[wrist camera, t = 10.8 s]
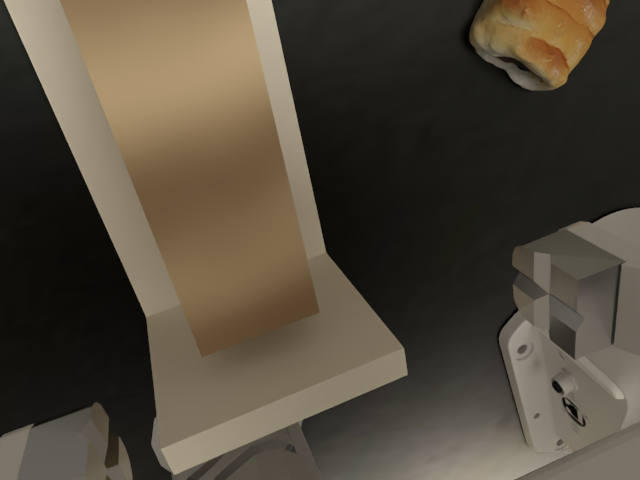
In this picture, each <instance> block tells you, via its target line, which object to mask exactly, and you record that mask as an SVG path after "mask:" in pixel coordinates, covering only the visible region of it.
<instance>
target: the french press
mask: <svg viewBox="0 0 640 480" xmlns="http://www.w3.org/2000/svg"><path fill="white" fill-rule="evenodd" d="M302 422H303V420H301V421H299V422H296V423H294V424H292V425H290V426H287V427H285V428H283V429H280V430H278V431H276V432H273V433H271V434H269V435H266V436H264V437H262V438H259V439H257V440H255V441H252V442H250V443H248V444H245V445H243V446H241V447H238V448H236V449H234V450H231V451H229V452H227V453H224V454H222V455H220V456H217V457H215V458H213V459H210V460H208V461H206V462H203V463H201V464H199V465H196V466H194V467H192V468H189V469H187V470H185V471H182V472H180V473H178V474H175V475H174V474H173V472H172V470H171V468H170V467H169V465H168V463H167V461H166V459H165V457H164V455H163V453H162V451H161V448H160V439H159V430H158V421H157V416H156V418H155V419H154V426H153V434H152V442H151V445H152V448H153V450H154V452H155V454H156V456H157V458H158V461H159V463H160V465H161V466H162V467H164V468H165V469H167V470H168V471H169V472H171V475H172V480H323V479H322V476H321V474H320V472H319V469H318V467H317V465H316V462H315V460H314V458H313V455H312V453H311V451H310V448H309V446H308V444H307V441H306V439H305V437H304V434H303V432H302V430H301V426H302ZM293 446H294V448H295V451H296V453H293V452H290V451H291V449H292V447H293Z"/></svg>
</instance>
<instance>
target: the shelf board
mask: <svg viewBox="0 0 640 480" xmlns="http://www.w3.org/2000/svg"><path fill="white" fill-rule="evenodd" d="M60 2H61V5H62V7H63V10H64V12H65V15H66V17H67V20H68V22H69V25H70V27H71V30H72V32H73V35H74V37H75V40H76V42H77V45H78V47H79V50H80V52H81V55H82V57H83V60H84V62H85V65H86V67H87V70H88V72H89V75H90V77H91V80H92V82H93V85H94V87H95V90H96V92H97V95H98V97H99V100H100V103H101V105H102V108H103V110H104V113H105V115H106V118H107V120H108V123H109V125H110V128H111V130H112V133H113V135H114V138H115V140H116V143H117V145H118V148H119V150H120V153H121V155H122V158H123V160H124V163H125V165H126V168H127V170H128V173H129V175H130V178H131V180H132V183H133V185H134V188H135V190H136V193H137V196H138V198H139V201H140V203H141V206H142V208H143V211H144V213H145V216H146V218H147V221H148V223H149V226H150V228H151V231H152V233H153V236H154V238H155V241H156V243H157V246H158V248H159V251H160V253H161V256H162V258H163V261H164V263H165V266H166V268H167V271H168V273H169V276H170V278H171V281H172V283H173V286H174V288H175V291H176V294H177V296H178V299H179V301H180V304H181V306H182V309H183V311H184V314H185V316H186V319H187V321H188V324H189V326H190V329H191V331H192V334H193V336H194V339H195V341H196V344H197V346H198V349H199V351H200V354H201V356H202V358H203V357H205V356H208V355H210V354H213V353H216V352H218V351H221V350H223V349H226V348H229V347H231V346H234V345H236V344H239V343H242V342H244V341H247V340H250V339H252V338H255V337H257V336H260V335H263V334H265V333H268V332H270V331H273V330H276V329H278V328H281V327H284V326H286V325H289V324H291V323H294V322H297V321H299V320H302V319H304V318H307V317H310V316H312V315H315V314H317V313H320V311H319V307H318V302H317V298H316V294H315V290H314V285H313V281H312V277H311V273H310V269H309V264H308V260H307V256H306V252H305V247H304V243H303V239H302V235H301V230H300V226H299V222H298V218H297V213H296V209H295V205H294V201H293V196H292V192H291V188H290V184H289V179H288V175H287V171H286V167H285V163H284V158H283V154H282V150H281V146H280V141H279V137H278V133H277V129H276V124H275V120H274V116H273V112H272V107H271V103H270V99H269V95H268V90H267V86H266V82H265V78H264V74H263V69H262V65H261V61H260V57H259V52H258V48H257V44H256V40H255V35H254V31H253V27H252V23H251V18H250V14H249V10H248V6H247V1H246V0H60Z"/></svg>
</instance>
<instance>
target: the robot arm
mask: <svg viewBox="0 0 640 480" xmlns="http://www.w3.org/2000/svg"><path fill="white" fill-rule="evenodd" d="M512 266H513V267H514V268H515V269H516V270H517V271H518V272H519V274H518V276H517V278H516V279H515V281H514V283H513V294H514V300H515V302H516V305H517V307H518V310H519V311H518V312H517V313H516V314H515V315H514V316H513V317H512V318H511V319H510V320H509V321H508V322H507V323H506V325H505V326H504V327H503V329H502V330H501V332H500V335H499V344H500V347H501V351H502V355H503V358H504V362H505V366H506V369H507V373H508V377H509V380H510V384H511V388H512V392H513V395H514V399H515V403H516V406H517V410H518V414H519V417H520V421H521V425H522V428H523V432H524V436H525V439H526V442H527V444H528V446H529V447H531V448H532V449H533V450H534V451H535V452H538V453H549V452H555V451H560V450H564V449H567V448H571V449H572V450H573V451H574V452H573V453H571V454H569V455H567V456H564V457H562V458H560V459H558V460H556V461H554V462H552V463H549V464H547V465H545V466H543V467H541V468H539V469H537V470H534V471H532V472H530V473H528V474H526V475H524V476H522V477H520V478H517V479H515V480H640V208H630V209H625V210H621V211H618V212H615V213H612V214H610V215H607V216H605V217H603V218H601V219H600V220H598V221H596V222H594V223H593V224H592V223H590V222H582V221H580V222H577V223H575V224H572V225H570V226H567V227H565V228H562V229H560V230H558V231H557V232H554V233H552V234H549V235H546V236H544V237H541V238H538V239H536V240H533V241H530V242H528V243H525V244H522V245H520V246H517V247H515V249H514V252H513V254H512ZM108 429H109V417H108V415H107V414H106V412H105V411H104V409H103V407H102V406H101V404H99V403H97V402H94V403H91V404H88V405H85V406H82V407H79V408H76V409H74V410H71V411H68V412H65V413H62V414H59V415H56V416H53V417H51V418H48V419H45V420H42V421H39V422H36V423H35V424H31V425H28V426H25V427H23V428H20V429H17V430H14V431H12V432H9V433H6V434H4V435H3V436H2V437H1V438H0V480H132V471H131V466H130V461H129V457H128V454H127V452H126V449H125V446H124V444H123V442H122V441H121V439H120V437H119V436H118V435H115V434H113V433H110V432H108Z"/></svg>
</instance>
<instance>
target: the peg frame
mask: <svg viewBox="0 0 640 480" xmlns="http://www.w3.org/2000/svg"><path fill="white" fill-rule="evenodd" d="M246 1H247V6H248V10H249V14H250V18H251V23H252V27H253V31H254V35H255V40H256V44H257V48H258V52H259V57H260V61H261V65H262V69H263V74H264V78H265V82H266V86H267V90H268V95H269V99H270V103H271V107H272V112H273V116H274V120H275V124H276V129H277V133H278V137H279V141H280V146H281V150H282V154H283V158H284V163H285V167H286V171H287V175H288V179H289V184H290V188H291V192H292V196H293V201H294V205H295V209H296V213H297V218H298V222H299V226H300V230H301V235H302V239H303V243H304V247H305V252H306V256H307V260H308V264H309V269H310V273H311V277H312V281H313V285H314V290H315V294H316V298H317V302H318V307H319V311H320V313H317V314H315V315H312V316H310V317H307V318H304V319H302V320H299V321H297V322H294V323H291V324H289V325H286V326H284V327H281V328H278V329H276V330H273V331H270V332H268V333H265V334H263V335H260V336H257V337H255V338H252V339H250V340H247V341H244V342H242V343H239V344H236V345H234V346H231V347H229V348H226V349H223V350H221V351H218V352H216V353H213V354H210V355H208V356H205V357H203V358H202V356H201V354H200V351H199V349H198V346H197V344H196V341H195V339H194V336H193V334H192V331H191V329H190V326H189V324H188V321H187V319H186V316H185V314H184V311H183V309H182V306H181V304H180V301H179V299H178V296H177V294H176V291H175V288H174V286H173V283H172V281H171V278H170V276H169V273H168V271H167V268H166V266H165V263H164V261H163V258H162V256H161V253H160V251H159V248H158V246H157V243H156V241H155V238H154V236H153V233H152V231H151V228H150V226H149V223H148V221H147V218H146V216H145V213H144V211H143V208H142V206H141V203H140V201H139V198H138V196H137V193H136V190H135V188H134V185H133V183H132V180H131V178H130V175H129V173H128V170H127V168H126V165H125V163H124V160H123V158H122V155H121V153H120V150H119V148H118V145H117V143H116V140H115V138H114V135H113V133H112V130H111V128H110V125H109V123H108V120H107V118H106V115H105V113H104V110H103V108H102V105H101V103H100V100H99V97H98V95H97V92H96V90H95V87H94V85H93V82H92V80H91V77H90V75H89V72H88V70H87V67H86V65H85V62H84V60H83V57H82V55H81V52H80V50H79V47H78V45H77V42H76V40H75V37H74V35H73V32H72V30H71V27H70V25H69V22H68V20H67V17H66V15H65V12H64V10H63V7H62V5H61V2H60V0H4V2H5V4H6V6H7V9H8V11H9V13H10V15H11V18H12V20H13V22H14V24H15V26H16V29H17V31H18V33H19V35H20V38H21V40H22V42H23V44H24V46H25V49H26V51H27V53H28V55H29V58H30V60H31V62H32V64H33V66H34V69H35V71H36V73H37V75H38V78H39V80H40V82H41V84H42V86H43V89H44V91H45V93H46V95H47V98H48V100H49V102H50V104H51V106H52V109H53V111H54V113H55V115H56V118H57V120H58V122H59V124H60V126H61V129H62V131H63V133H64V135H65V138H66V140H67V142H68V144H69V146H70V149H71V151H72V153H73V155H74V158H75V160H76V162H77V164H78V167H79V169H80V171H81V173H82V175H83V178H84V180H85V182H86V184H87V187H88V189H89V191H90V193H91V195H92V198H93V200H94V202H95V204H96V207H97V209H98V211H99V213H100V215H101V218H102V220H103V222H104V224H105V227H106V229H107V231H108V233H109V235H110V238H111V240H112V242H113V244H114V247H115V249H116V251H117V253H118V255H119V258H120V260H121V262H122V264H123V267H124V269H125V271H126V273H127V275H128V278H129V280H130V282H131V284H132V287H133V289H134V291H135V293H136V295H137V298H138V300H139V302H140V304H141V307H142V309H143V311H144V313H145V316H146V320H147V329H148V338H149V347H150V357H151V366H152V375H153V384H154V393H155V403H156V412H157V421H158V430H159V439H160V448H161V451H162V453H163V455H164V457H165V459H166V461H167V463H168V465H169V467H170V468H171V470H172V472H173V474H174V475H175V474H178V473H180V472H182V471H185V470H187V469H189V468H192V467H194V466H196V465H199V464H201V463H203V462H206V461H208V460H210V459H213V458H215V457H217V456H220V455H222V454H224V453H227V452H229V451H231V450H234V449H236V448H238V447H241V446H243V445H245V444H248V443H250V442H252V441H255V440H257V439H259V438H262V437H264V436H266V435H269V434H271V433H273V432H276V431H278V430H280V429H283V428H285V427H287V426H290V425H292V424H294V423H296V422H299V421H301V420H303V419H306V418H308V417H310V416H313V415H315V414H317V413H320V412H322V411H324V410H327V409H329V408H331V407H334V406H336V405H338V404H341V403H343V402H345V401H348V400H350V399H352V398H355V397H357V396H359V395H362V394H364V393H366V392H369V391H371V390H373V389H376V388H378V387H380V386H383V385H385V384H387V383H390V382H392V381H394V380H397V379H399V378H401V377H404V376H406V375H408V373H407V366H406V359H405V352H404V347H403V346H402V345H401V344H400V342H399V341H398V340H397V339H396V338H395V336H394V335H393V334H392V333H391V331H390V330H389V329H388V328H387V326H386V325H385V324H384V323H383V322H382V320H381V319H380V318H379V317H378V315H377V314H376V313H375V312H374V311H373V309H372V308H371V307H370V306H369V304H368V303H367V302H366V301H365V300H364V298H363V297H362V296H361V295H360V293H359V292H358V291H357V290H356V288H355V287H354V286H353V285H352V284H351V282H350V281H349V280H348V279H347V277H346V276H345V275H344V274H343V273H342V271H341V270H340V269H339V268H338V266H337V265H336V264H335V263H334V262H333V260H332V259H331V258H330V257H329V255H328V254H327V253H326V250H325V245H324V241H323V236H322V231H321V227H320V222H319V217H318V213H317V208H316V204H315V199H314V194H313V190H312V185H311V180H310V176H309V171H308V167H307V162H306V157H305V153H304V148H303V144H302V139H301V134H300V130H299V125H298V120H297V116H296V111H295V107H294V102H293V97H292V93H291V88H290V84H289V79H288V74H287V70H286V65H285V60H284V56H283V51H282V47H281V42H280V37H279V33H278V28H277V24H276V19H275V14H274V10H273V5H272V0H246Z"/></svg>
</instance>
